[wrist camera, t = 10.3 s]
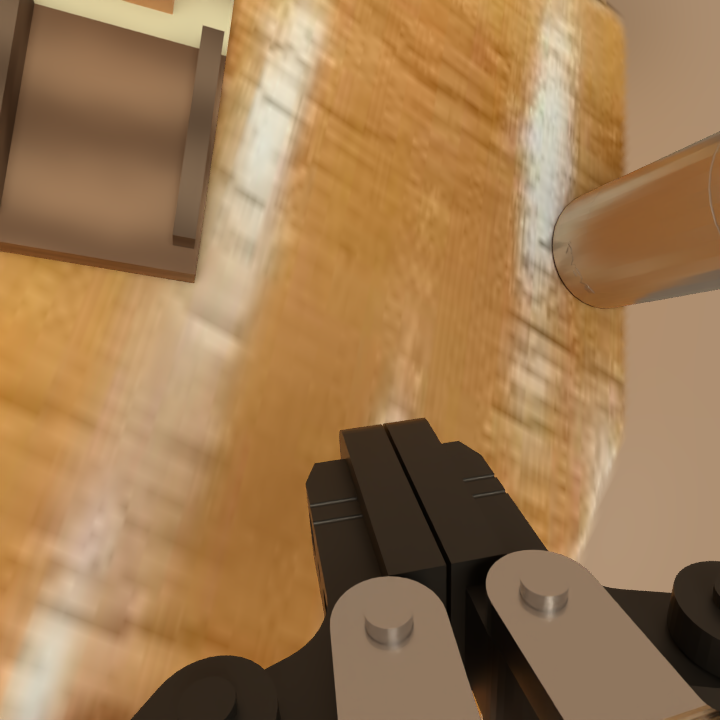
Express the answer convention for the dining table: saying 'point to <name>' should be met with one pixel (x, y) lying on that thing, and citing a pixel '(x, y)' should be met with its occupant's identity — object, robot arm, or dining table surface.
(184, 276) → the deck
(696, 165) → the robot arm
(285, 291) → the dining table surface
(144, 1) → the block
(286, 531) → the dining table surface
